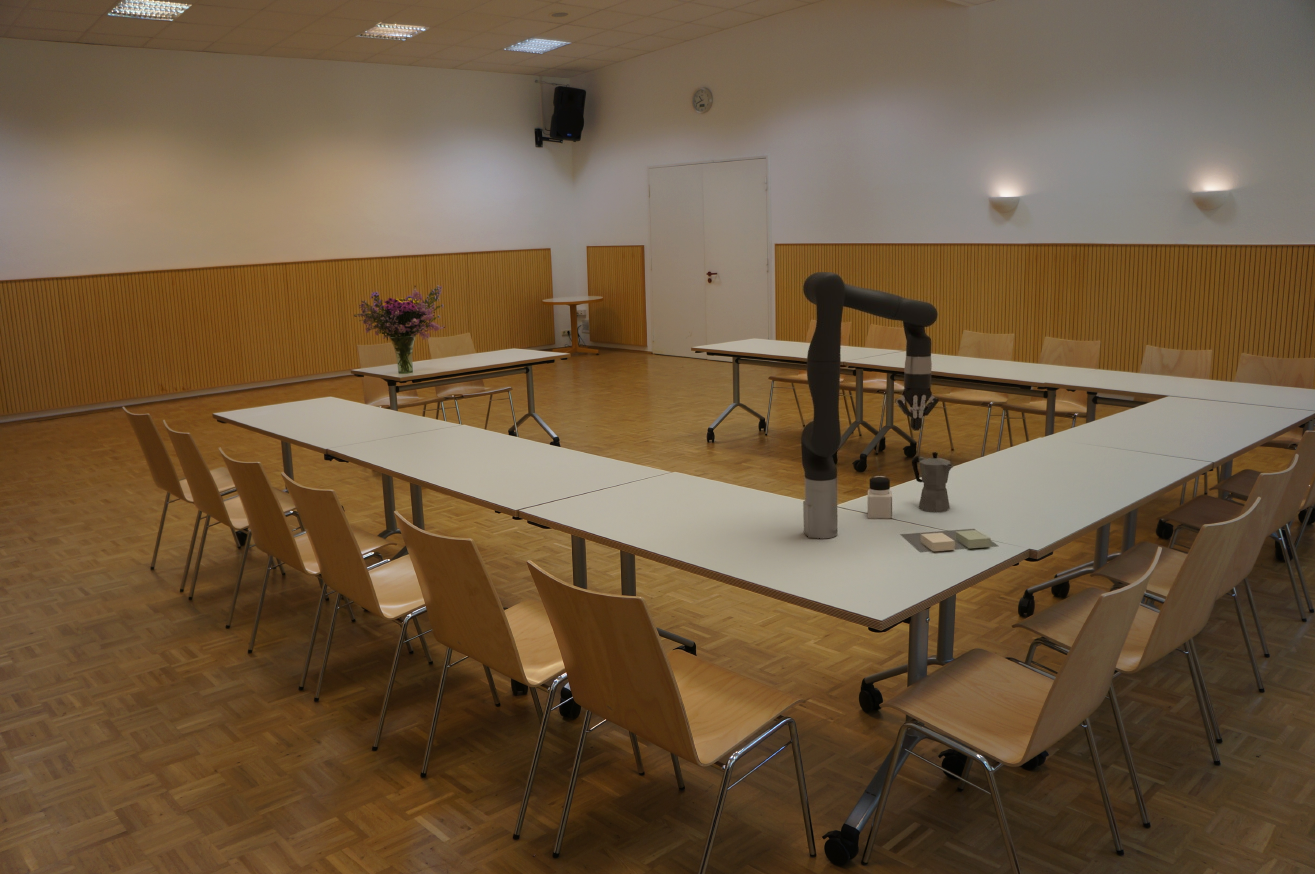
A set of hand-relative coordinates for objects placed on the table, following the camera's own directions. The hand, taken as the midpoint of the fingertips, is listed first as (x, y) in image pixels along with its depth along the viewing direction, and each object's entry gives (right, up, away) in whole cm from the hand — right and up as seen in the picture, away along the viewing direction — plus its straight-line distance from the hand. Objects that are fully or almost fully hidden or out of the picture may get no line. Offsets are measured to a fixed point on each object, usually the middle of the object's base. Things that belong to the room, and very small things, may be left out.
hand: (915, 430), depth 278 cm
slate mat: (+5, -31, -14) cm, 35 cm away
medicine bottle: (-7, -26, +14) cm, 31 cm away
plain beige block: (0, -30, -15) cm, 33 cm away
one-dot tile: (+10, -29, -14) cm, 34 cm away
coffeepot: (+10, -24, +19) cm, 33 cm away
